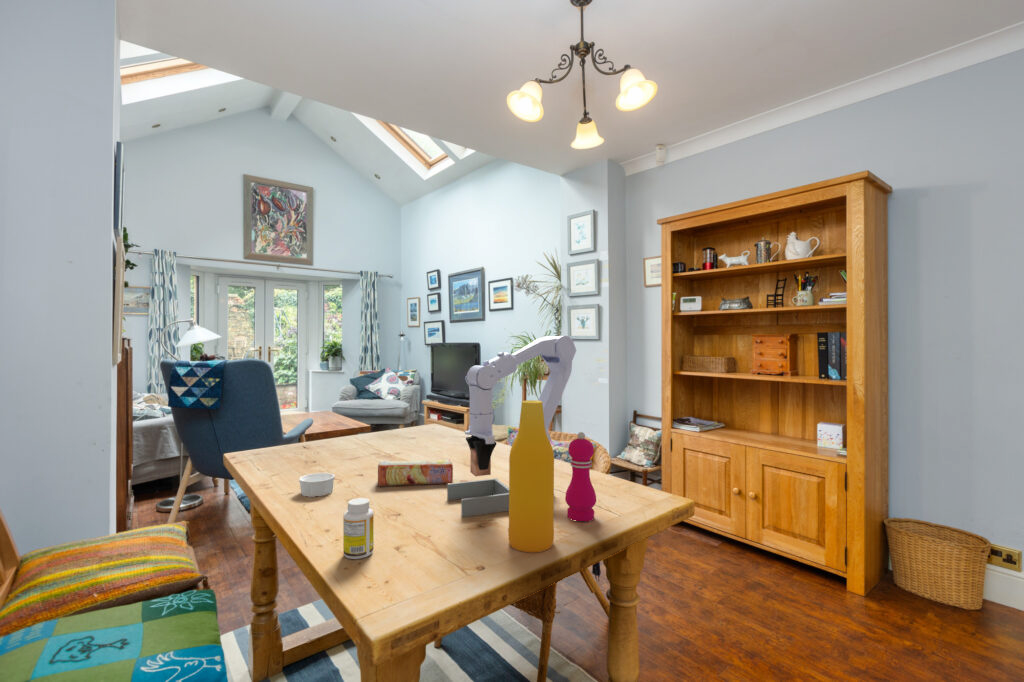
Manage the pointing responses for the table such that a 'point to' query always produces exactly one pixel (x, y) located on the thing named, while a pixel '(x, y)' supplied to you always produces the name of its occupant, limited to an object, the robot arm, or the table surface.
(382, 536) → the table surface
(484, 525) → the table surface
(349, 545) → the supplement bottle
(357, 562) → the table surface
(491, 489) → the open side box
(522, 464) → the beer bottle
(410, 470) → the snack package
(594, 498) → the pepper mill
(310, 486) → the ramekin
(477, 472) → the block
